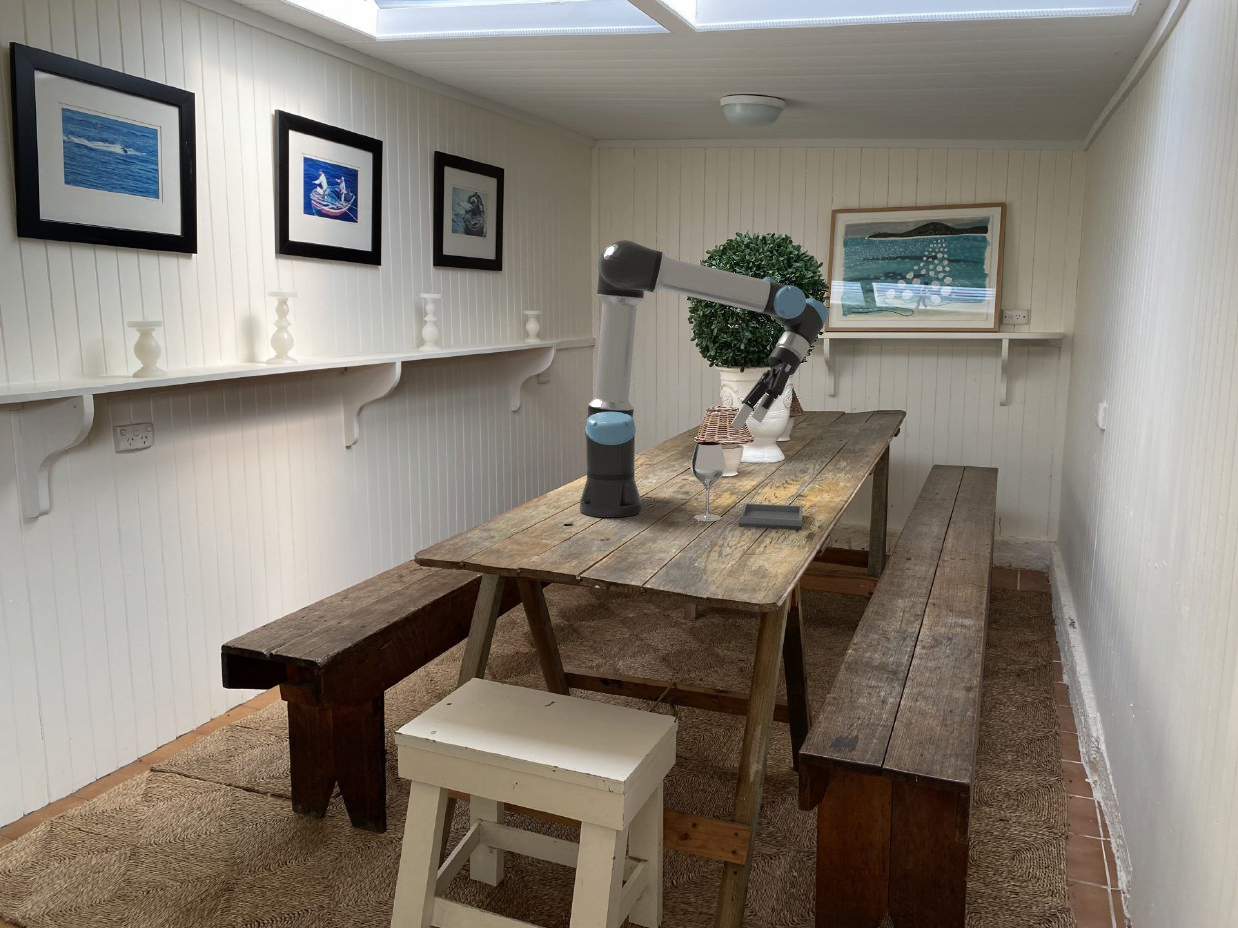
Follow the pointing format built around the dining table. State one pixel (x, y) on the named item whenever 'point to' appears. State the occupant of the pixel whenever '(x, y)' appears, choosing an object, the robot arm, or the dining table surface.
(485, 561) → the dining table surface
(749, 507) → the tray
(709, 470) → the wineglass
